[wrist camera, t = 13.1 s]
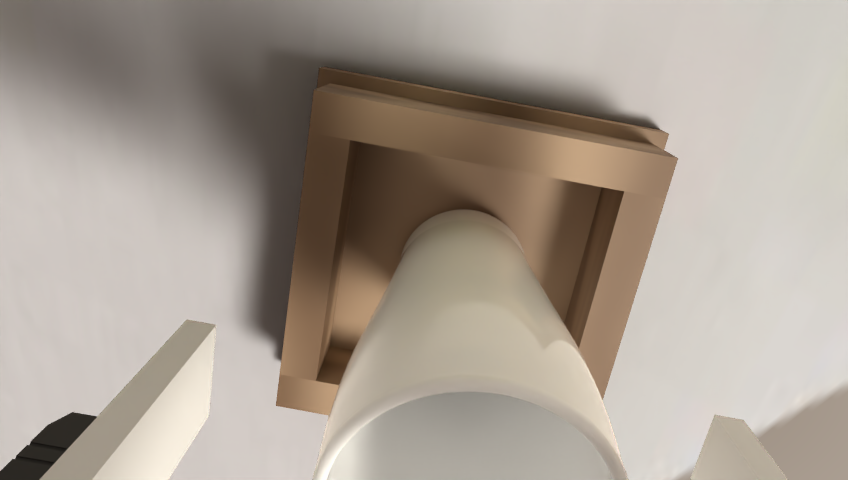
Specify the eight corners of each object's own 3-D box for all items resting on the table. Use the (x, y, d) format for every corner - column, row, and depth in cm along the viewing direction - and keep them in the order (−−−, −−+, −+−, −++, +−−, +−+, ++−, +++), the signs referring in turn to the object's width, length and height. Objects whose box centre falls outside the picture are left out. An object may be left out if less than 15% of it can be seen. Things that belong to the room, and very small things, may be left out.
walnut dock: (287, 365, 30) (262, 413, 26) (324, 66, 26) (301, 72, 22) (574, 418, 30) (591, 473, 26) (661, 130, 26) (696, 147, 22)
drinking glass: (352, 271, 27) (238, 531, 13) (455, 154, 26) (453, 307, 11) (469, 364, 28) (481, 696, 14) (575, 258, 27) (712, 516, 12)
